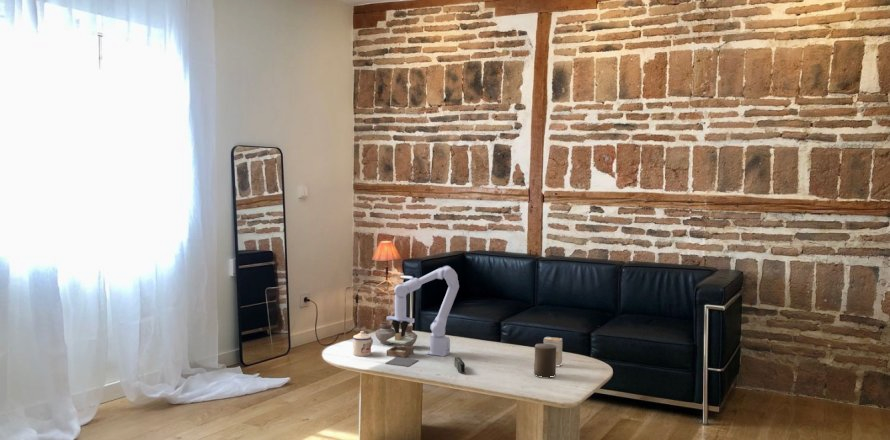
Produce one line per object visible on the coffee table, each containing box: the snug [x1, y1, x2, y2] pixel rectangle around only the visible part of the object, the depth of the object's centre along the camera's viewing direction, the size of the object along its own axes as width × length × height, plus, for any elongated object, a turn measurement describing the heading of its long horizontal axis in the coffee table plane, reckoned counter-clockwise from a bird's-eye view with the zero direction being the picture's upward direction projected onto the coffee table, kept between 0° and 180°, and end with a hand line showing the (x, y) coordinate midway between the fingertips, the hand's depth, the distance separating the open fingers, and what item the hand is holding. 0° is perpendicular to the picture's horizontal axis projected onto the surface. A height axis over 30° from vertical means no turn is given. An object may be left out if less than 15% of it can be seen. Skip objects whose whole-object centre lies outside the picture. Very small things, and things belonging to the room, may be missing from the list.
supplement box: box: [543, 336, 563, 365], centre depth 355 cm, size 8×5×13 cm, turn 65°
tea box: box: [386, 345, 414, 358], centre depth 371 cm, size 10×10×3 cm
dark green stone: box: [453, 357, 467, 375], centre depth 344 cm, size 5×3×15 cm
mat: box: [385, 357, 420, 368], centre depth 357 cm, size 12×12×1 cm
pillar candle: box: [533, 343, 557, 377], centre depth 338 cm, size 10×10×15 cm
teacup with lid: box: [352, 330, 374, 357], centre depth 371 cm, size 12×9×12 cm
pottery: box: [374, 321, 418, 349], centre depth 389 cm, size 11×25×12 cm, turn 57°
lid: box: [387, 331, 414, 345], centre depth 370 cm, size 10×10×4 cm
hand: (400, 335), depth 370 cm, fingers closed on lid, 2 cm apart
